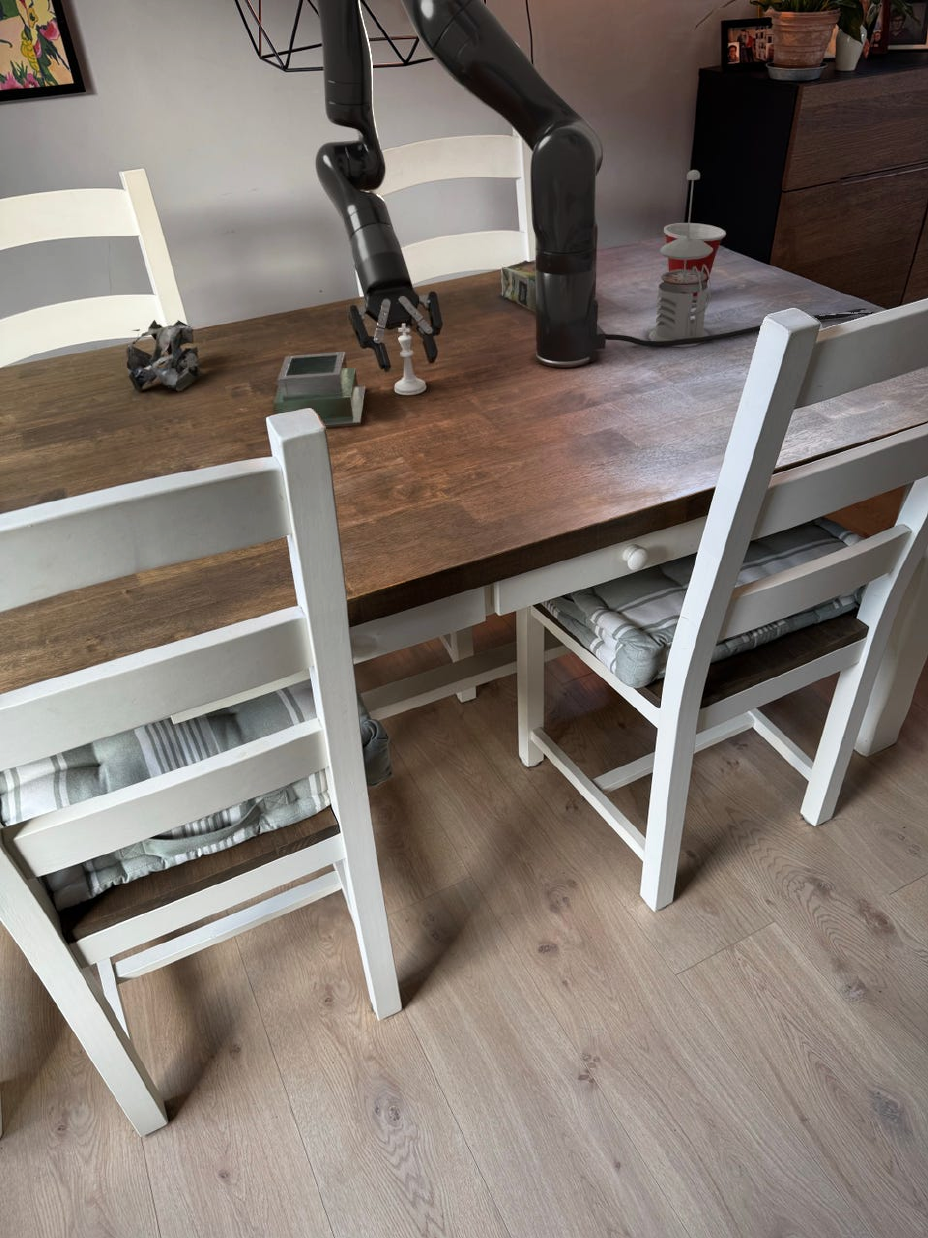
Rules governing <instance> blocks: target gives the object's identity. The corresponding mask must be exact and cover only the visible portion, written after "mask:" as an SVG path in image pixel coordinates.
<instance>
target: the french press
mask: <svg viewBox="0 0 928 1238" xmlns="http://www.w3.org/2000/svg"><path fill="white" fill-rule="evenodd" d="M700 178H701V173H700V172H699V170H697V169H692V170H690V171H688V173H687V175H686V180H688V181H691V186H690V187H691V188H690V189H691V190H690V201H689V211H688V221H687V223H688V231H687V238H683V239H677V240H674V241H672V242H670V243H668V244H667V243H666V244H665V245H663V246H662V247H661V248H660V249H659V251H660V254H661V255H662V256H663V257H664V258H667V259H668V258H670V259H677V260H685V264H684V270H683V269H682V270H681V269H680V270H679V269H678V270H677V271H676V270H672V271H669V270H668V271H666V272H664V273H662V274H661V276H660V277H661V280H662V282H661V283H659V284H658V289H657V300H659V299H660V300H659V301H657V303H656V308H658V307H659V308H658V309H657V310H656V316H657V317H656V318H655V323H656V325H655V328H654V329H652V331H651V332H649V335H648V338H649V340H650V341H670V340H679V339H688V338H697V337H705V336H710V335H709V333H708V332H707V331H706V330H705V329H704V327H705V326H704V325H705V317H706V309H707V308H708V306H709V304H710V303H709V302H710V300H711V293H712V281H711V274H710V275H709V271H708V269H707V267H706V265H703V266H702V270H701V272H700V271H698V270H697V268H696V266H694V267H693V270H691V269H690V270H689V269H688V270H687V269H686V260H693V259H700V258H704V257H707V256H708V255H710V254H711V253H712V252H713V248H712V247H710V246H709V245H707V244H706V243H705V242H703V241H701V240H699V239H693V238H689V226H690V223H691V214H692V206H693V205H692V204H693V192H694V184H695V183H694V181H696V180H697V181H698V180H700ZM704 267H705V269H706V270H707V274H708V277H709V280H708V283H707V284H706V283H705V282H704V281H705V280H706V279H707V275H706V274H704V272H703V269H704ZM694 268H695V270H696V271H695V270H694ZM708 284H709V285H708ZM708 286H709V287H708ZM708 289H709V290H708ZM702 290H703V291H702ZM698 291H700V292H698ZM682 292H686V293H688V294H682ZM695 292H698V293H697V296H695V297H693V293H695ZM707 296H708V298H707ZM695 300H697V301H695ZM692 301H695V302H696V303H693V302H692ZM692 309H694V310H693V311H692ZM692 317H694V318H693V319H692ZM700 344H704V342H702V343H694V344H685V345H676V346H670V348H671V347H672V348H673V347H675V348H685V347H686V348H687V347H693V346H694V347H695V346H697V345H700Z"/></svg>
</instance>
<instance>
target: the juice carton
mask: <svg viewBox="0 0 928 1238" xmlns="http://www.w3.org/2000/svg"><path fill="white" fill-rule="evenodd" d="M535 268H536V267H535V259H533V260H529V261H528V260H523V261H520V262H518V263H515V264H511V265H508V266H503V267H501V270H500V274H501V297H503V298H504V299H508V300H510V301H511V302H514V303H516V304H517V305H520V306H522V307H523V308H525V309H526V310H528V311H529V312H531V313H534V314H536V269H535Z"/></svg>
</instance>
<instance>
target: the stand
mask: <svg viewBox="0 0 928 1238" xmlns="http://www.w3.org/2000/svg"><path fill="white" fill-rule="evenodd" d="M357 377H358V376H357V370H356V367H348V365H347V359H346V352H345V351H336V352H323V353H310V354H309V353H308V354H297V355H295V354H294V355H286V356H285V358H284V361H283V364H282V366H281V369H280V371H279V375H278V378H277V381H278V388H277V390H276V394H275V396H274V399H273V402H272V404H273V409H274V415H275V414H277V413H284V412H289V411H295V410H298V409H303V408H312V409H314V410H315V411H316V413H318V415H319V416H320V418H321V420H322V421H323V423H324V424H325V426H326V428H325V429H332V428H344V427H345V428H346V427H360V426H361V425H362V418H363V412H364V404H365V398H366V386H365V385H362V386H359V384H358V378H357Z"/></svg>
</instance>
